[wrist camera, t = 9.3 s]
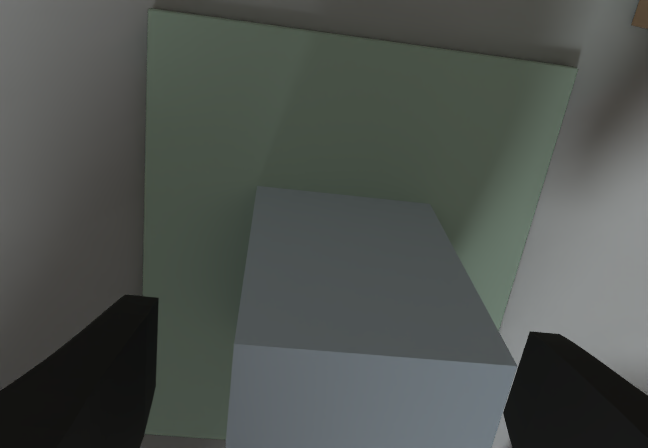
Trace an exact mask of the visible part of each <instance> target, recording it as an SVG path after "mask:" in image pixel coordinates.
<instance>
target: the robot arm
mask: <svg viewBox="0 0 648 448" xmlns="http://www.w3.org/2000/svg"><path fill="white" fill-rule="evenodd" d="M158 304H159V298H156V297H145V296H134V295H124V296H123V297H122V298H120V299H119V300H118V301H117V302H115V303H114V304H113V305H112V306H110V307H109V308H108V309H107V310H106V311H105V312H103V313H102V314H101V315H100V316H99V317H98V318H96V319H95V320H94V321H93V322H92V323H91V324H89V325H88V326H87V327H86V328H85V329H83V330H82V331H81V332H80V333H78V334H77V335H76V336H75V337H73V338H72V339H71V340H70V341H68V342H67V343H66V344H65V345H63V346H62V347H61V348H60V349H58V350H57V351H56V352H55V353H53V354H52V355H51V356H49V357H48V358H47V359H45V360H44V361H43V362H41V363H40V364H38V365H37V366H36V367H34V368H33V369H31V370H30V371H28V372H27V373H26V374H24V375H23V376H21V377H20V378H19V379H17V380H16V381H14V382H13V383H12V384H10V385H8V386H7V387H5V388H4V389H2V390H1V391H0V448H140V445H141V442H142V440H143V437H144V434H145V430H146V426H147V422H148V418H149V414H150V409H151V405H152V401H153V396H154V392H155V388H156V367H157V336H158ZM503 414H504V418H505V422H506V426H507V429H508V433H509V437H510V441H511V444H512V448H648V396H647V395H646V394H644V393H643V392H642V391H640V390H639V389H638V388H636V387H635V386H633V385H632V384H631V383H629V382H628V381H626V380H625V379H624V378H622V377H621V376H620V375H618V374H617V373H616V372H614V371H613V370H611V369H610V368H609V367H607V366H606V365H605V364H603V363H602V362H600V361H599V360H598V359H596V358H595V357H593V356H592V355H591V354H589V353H588V352H586V351H585V350H584V349H582V348H581V347H579V346H578V345H576V344H575V343H573V342H572V341H570V340H568V339H567V338H565V337H563V336H562V335H560V334H552V333H541V332H530V333H529V336H528V339H527V342H526V345H525V348H524V351H523V354H522V357H521V360H520V363H519V366H518V369H517V373H516V376H515V379H514V382H513V385H512V388H511V391H510V394H509V397H508V400H507V403H506V406H505V409H504V412H503Z"/></svg>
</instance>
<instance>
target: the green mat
mask: <svg viewBox="0 0 648 448" xmlns="http://www.w3.org/2000/svg"><path fill="white" fill-rule="evenodd" d="M577 72H578V69H577V68H575V67H572V66H565V65H558V64H551V63H543V62H536V61H529V60H522V59H514V58H507V57H500V56H493V55H486V54H478V53H471V52H464V51H457V50H449V49H442V48H435V47H428V46H420V45H413V44H406V43H399V42H392V41H384V40H377V39H370V38H363V37H355V36H348V35H341V34H334V33H326V32H319V31H312V30H305V29H298V28H290V27H283V26H276V25H269V24H261V23H254V22H247V21H240V20H232V19H225V18H218V17H211V16H204V15H196V14H189V13H182V12H175V11H167V10H160V9H153V8H151V9H148V32H147V85H146V138H145V191H144V243H143V296H145V297H156V298H159V304H158V336H157V367H156V388H155V392H154V396H153V401H152V405H151V409H150V414H149V418H148V422H147V426H146V430H145V434H148V435H162V436H177V437H191V438H206V439H220V440H226V433H227V421H228V409H229V398H230V386H231V374H232V362H233V350H234V341H235V334H236V327H237V320H238V313H239V306H240V300H241V293H242V286H243V279H244V272H245V265H246V258H247V252H248V245H249V238H250V231H251V224H252V217H253V211H254V204H255V197H256V190H257V186H263V187H273V188H282V189H292V190H302V191H311V192H321V193H330V194H340V195H350V196H359V197H369V198H378V199H388V200H398V201H407V202H417V203H426V204H430V205H431V207H432V209H433V210H434V212H435V214H436V216H437V218H438V220H439V222H440V223H441V225H442V227H443V229H444V231H445V233H446V235H447V236H448V238H449V240H450V242H451V244H452V246H453V248H454V249H455V251H456V253H457V255H458V257H459V259H460V261H461V263H462V264H463V266H464V268H465V270H466V272H467V274H468V276H469V277H470V279H471V281H472V283H473V285H474V287H475V289H476V290H477V292H478V294H479V296H480V298H481V300H482V302H483V303H484V305H485V307H486V309H487V311H488V313H489V315H490V316H491V318H492V320H493V322H494V324H495V326H496V328H497V329H498V331H499V328H500V325H501V322H502V318H503V315H504V312H505V308H506V305H507V302H508V299H509V295H510V292H511V289H512V285H513V282H514V279H515V275H516V272H517V269H518V266H519V262H520V259H521V256H522V252H523V249H524V246H525V243H526V239H527V236H528V233H529V229H530V226H531V223H532V220H533V216H534V213H535V210H536V206H537V203H538V200H539V197H540V193H541V190H542V187H543V183H544V180H545V177H546V174H547V170H548V167H549V164H550V160H551V157H552V154H553V151H554V147H555V144H556V141H557V137H558V134H559V131H560V128H561V124H562V121H563V118H564V114H565V111H566V108H567V105H568V101H569V98H570V95H571V91H572V88H573V85H574V82H575V78H576V75H577Z"/></svg>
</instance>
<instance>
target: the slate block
mask: <svg viewBox="0 0 648 448" xmlns="http://www.w3.org/2000/svg"><path fill="white" fill-rule="evenodd" d="M516 369H517V365H516V363H515V361H514V359H513V357H512V356H511V354H510V352H509V350H508V348H507V346H506V344H505V342H504V341H503V339H502V337H501V335H500V333H499V331H498V329H497V328H496V326H495V324H494V322H493V320H492V318H491V316H490V315H489V313H488V311H487V309H486V307H485V305H484V303H483V302H482V300H481V298H480V296H479V294H478V292H477V290H476V289H475V287H474V285H473V283H472V281H471V279H470V277H469V276H468V274H467V272H466V270H465V268H464V266H463V264H462V263H461V261H460V259H459V257H458V255H457V253H456V251H455V249H454V248H453V246H452V244H451V242H450V240H449V238H448V236H447V235H446V233H445V231H444V229H443V227H442V225H441V223H440V222H439V220H438V218H437V216H436V214H435V212H434V210H433V209H432V207H431V205H430V204H426V203H417V202H407V201H398V200H388V199H378V198H369V197H359V196H350V195H340V194H330V193H321V192H311V191H302V190H292V189H282V188H273V187H263V186H257V190H256V197H255V204H254V211H253V217H252V224H251V231H250V238H249V245H248V252H247V258H246V265H245V272H244V279H243V286H242V293H241V300H240V306H239V313H238V320H237V327H236V334H235V341H234V350H233V362H232V374H231V386H230V398H229V409H228V421H227V433H226V445H225V448H491V447H492V444H493V441H494V438H495V435H496V431H497V428H498V425H499V422H500V419H501V416H502V413H503V409H504V406H505V403H506V400H507V397H508V394H509V391H510V388H511V384H512V381H513V378H514V375H515V372H516Z"/></svg>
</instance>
